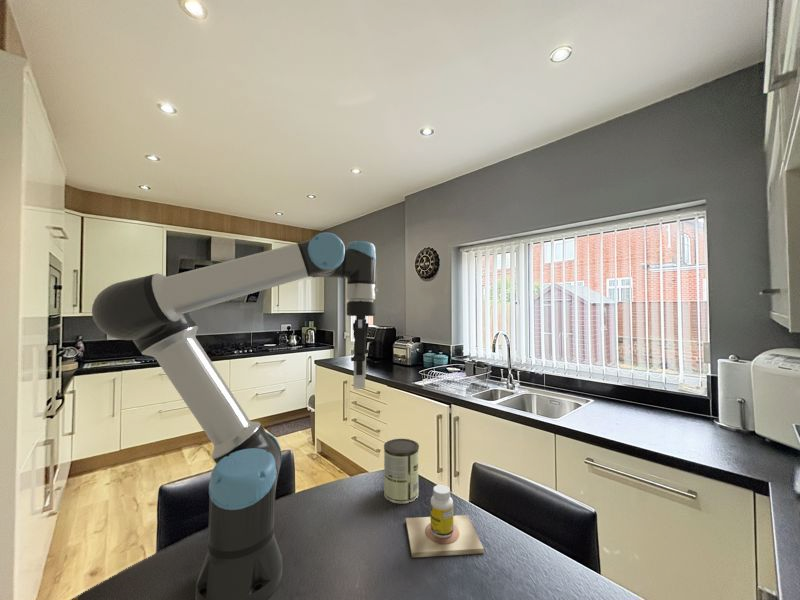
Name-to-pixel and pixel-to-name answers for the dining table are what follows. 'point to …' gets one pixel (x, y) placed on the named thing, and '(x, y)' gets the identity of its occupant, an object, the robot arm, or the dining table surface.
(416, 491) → the coffee can
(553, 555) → the dining table surface
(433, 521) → the supplement bottle
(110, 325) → the robot arm
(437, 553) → the board
